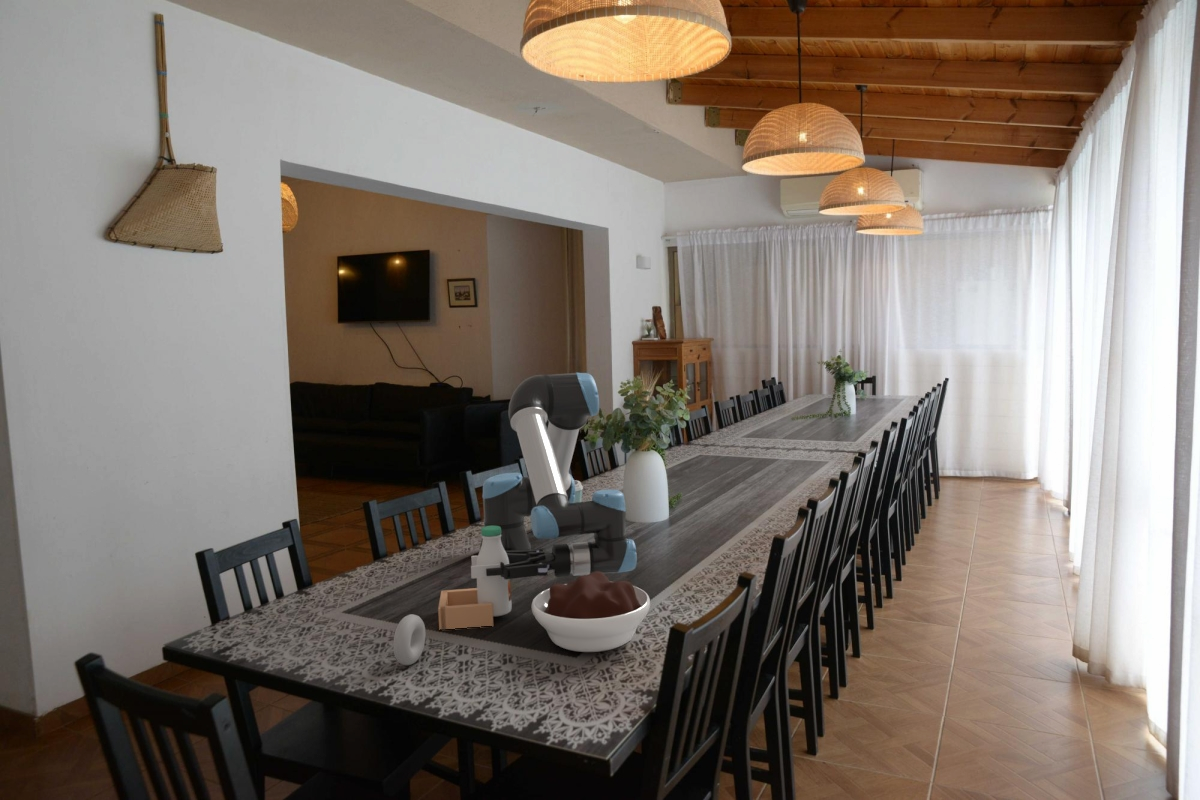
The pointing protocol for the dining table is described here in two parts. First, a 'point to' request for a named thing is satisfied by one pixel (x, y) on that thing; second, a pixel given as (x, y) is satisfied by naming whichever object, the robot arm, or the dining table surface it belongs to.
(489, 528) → the milk bottle
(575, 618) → the bowl of chocolate pudding
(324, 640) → the dining table surface
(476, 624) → the box
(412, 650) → the donut
